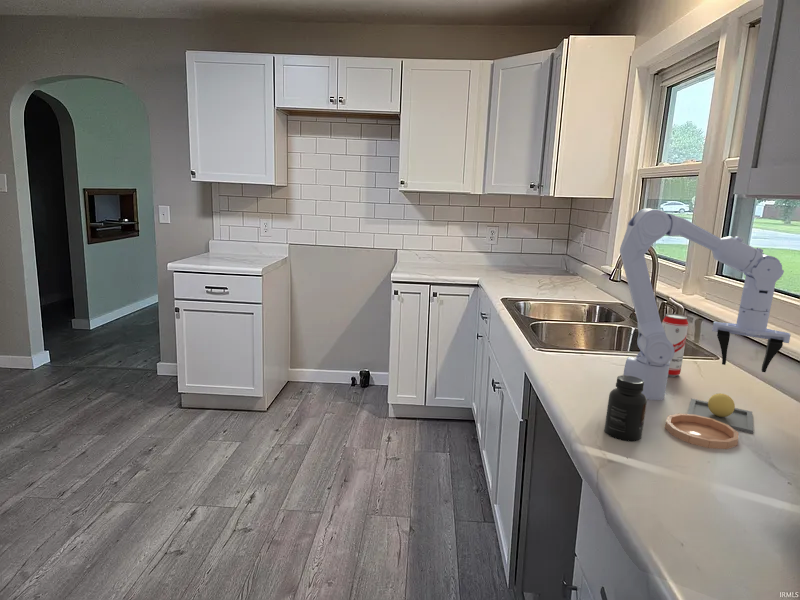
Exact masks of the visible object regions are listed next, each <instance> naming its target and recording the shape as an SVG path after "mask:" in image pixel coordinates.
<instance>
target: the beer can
mask: <svg viewBox="0 0 800 600" xmlns="http://www.w3.org/2000/svg"><path fill="white" fill-rule="evenodd" d="M661 323H662V325H663V328H664V330H665V333H666V337H667V339H668V340H669V341H670V342H671V343H672V345H673V346H674V351H675V352H674V356H673V358H672V359H671V361H670V366H669V372H668V377H671V378H672V377H673V378H675V377H678V376H679V375H680V374H681V373H682V372H681V371H682V364H683V359H684V354H685V353H684V352H685V347H686V340H687V335H688V329H689V321H688V317H687V316H686V315H682V314H676V313H666V314H665V317H664V318H663V319H662V321H661Z"/></svg>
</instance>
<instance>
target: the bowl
mask: <svg viewBox="0 0 800 600" xmlns="http://www.w3.org/2000/svg"><path fill="white" fill-rule="evenodd" d="M664 429H665V431H667V432H668V433H669V434H670V435H671V436H673V437H675V438H676V439H679V440H681V441H684V442H686V443H688V444H692V445H694V446H699V447H703V448H707V449H717V450H718V449H719V450H729V449H731V448H732V449H733V448H735V447H738V443H739V432H738V430H735V429H733V428H732V427H731V426H729V425H727V424H725V423H722V422H720V421H717V420H715V419H712V418H708V417H703V416H699V415H694V414H687V413H680V412H679V413H674V414H670V415H667V417H666V421H665V426H664Z"/></svg>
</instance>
